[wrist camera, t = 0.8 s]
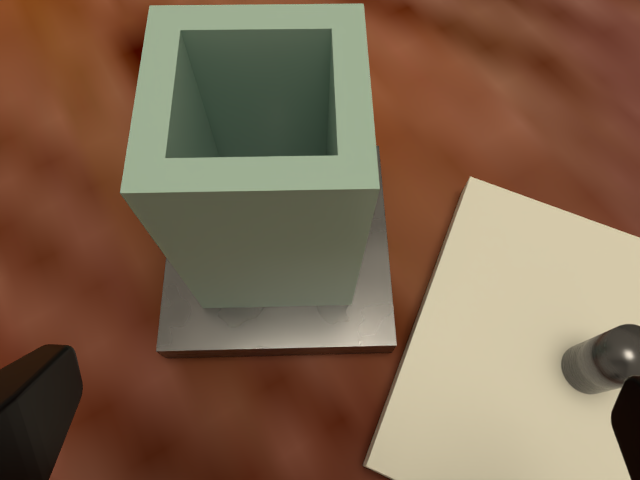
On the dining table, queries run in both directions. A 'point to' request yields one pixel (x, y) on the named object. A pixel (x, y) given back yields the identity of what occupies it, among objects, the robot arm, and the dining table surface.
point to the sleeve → (256, 150)
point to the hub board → (515, 349)
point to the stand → (286, 315)
